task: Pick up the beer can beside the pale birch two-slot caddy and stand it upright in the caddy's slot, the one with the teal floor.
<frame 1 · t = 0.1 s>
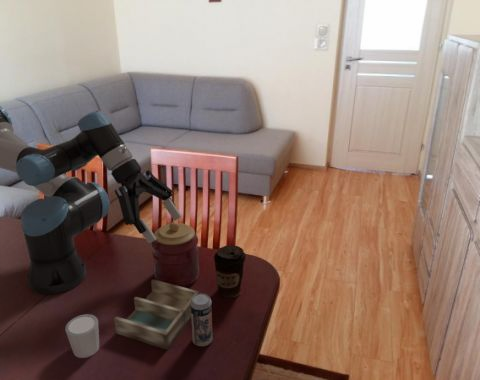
hand: (166, 229, 111), 15 cm above the table, tool tilted 35°, fingers open, 13 cm apart
caddy: (160, 318, 100), on the table
beer can: (202, 340, 94), on the table
canister: (177, 276, 117), on the table
shot glass: (86, 349, 91), on the table
coffee cup: (229, 292, 110), on the table
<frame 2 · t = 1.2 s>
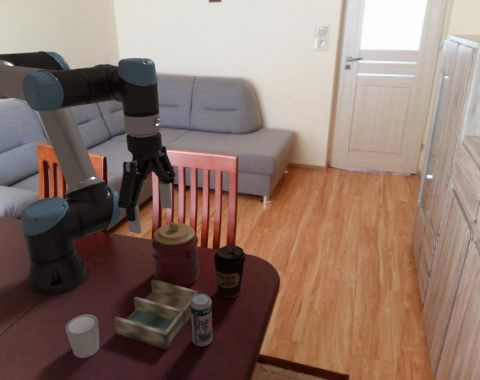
hand: (151, 219, 96), 25 cm above the table, tool pointing down, fingers open, 13 cm apart
nothing on the table moved.
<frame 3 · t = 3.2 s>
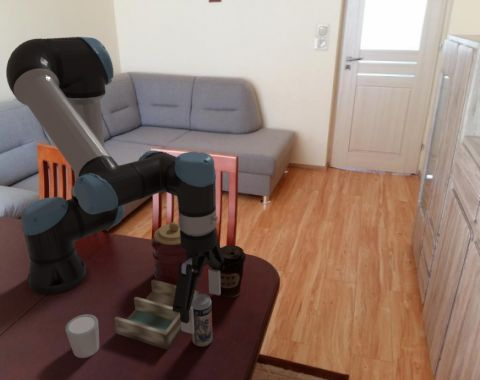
hand: (202, 311, 90), 9 cm above the table, tool pointing down, fingers open, 13 cm apart
nothing on the table moved.
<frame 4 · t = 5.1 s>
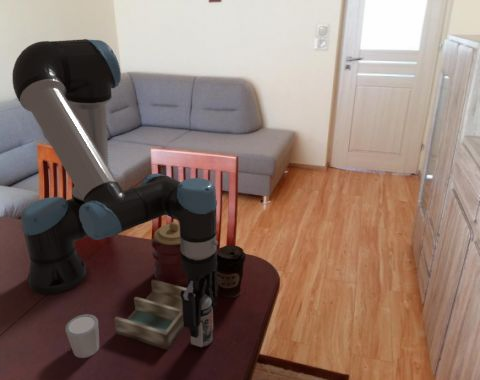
hand: (202, 336, 93), 1 cm above the table, tool pointing down, fingers closed on beer can, 5 cm apart
beer can: (202, 340, 94), on the table, touching gripper
everything else where it was.
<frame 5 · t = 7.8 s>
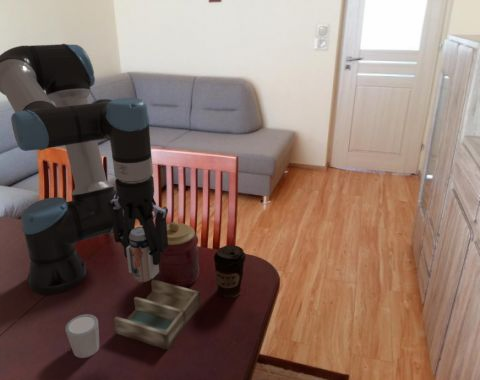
hand: (144, 272, 91), 16 cm above the table, tool pointing down, fingers closed on beer can, 5 cm apart
beer can: (144, 277, 91), point 15 cm above the table, touching gripper
everything else where it was.
when the fingers open (4 cm above the table, at t = 10.7 s): beer can drops 1 cm, resting on caddy.
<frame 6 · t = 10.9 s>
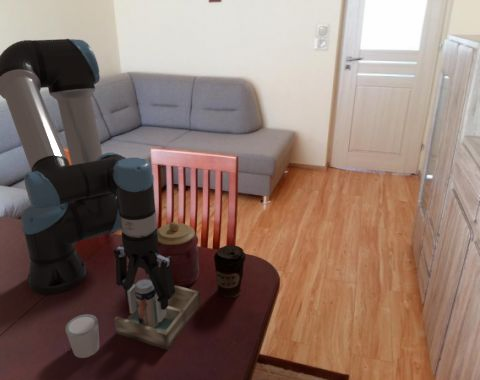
hand: (148, 313, 95), 5 cm above the table, tool pointing down, fingers open, 7 cm apart
beer can: (149, 325, 97), point 1 cm above the table, touching caddy
everything else where it was.
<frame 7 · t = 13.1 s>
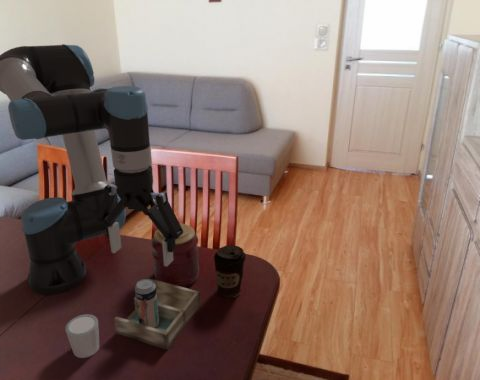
hand: (142, 256, 89), 21 cm above the table, tool pointing down, fingers open, 13 cm apart
nothing on the table moved.
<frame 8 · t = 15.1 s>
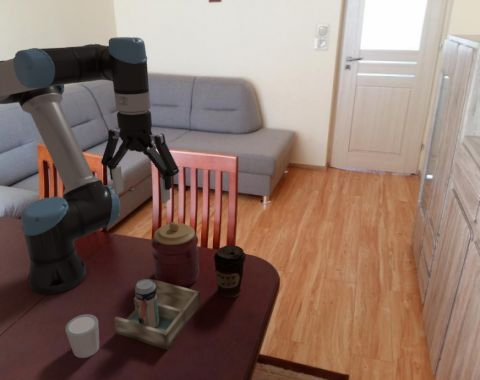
hand: (142, 196, 99), 29 cm above the table, tool pointing down, fingers open, 13 cm apart
nothing on the table moved.
at the end: beer can inside the target area on the caddy (0.2 cm from its centre), point 1.0 cm above the caddy's base; beer can tilted 0°; the gripper is holding nothing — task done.
